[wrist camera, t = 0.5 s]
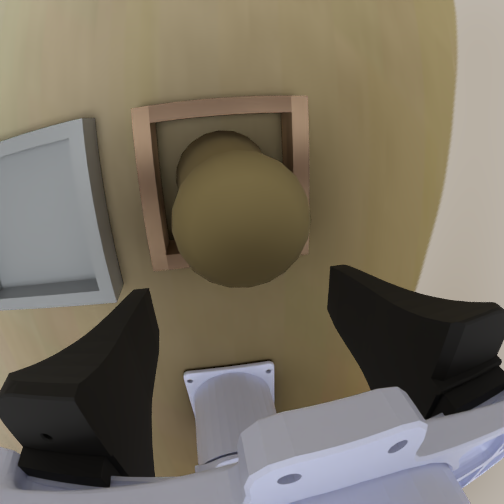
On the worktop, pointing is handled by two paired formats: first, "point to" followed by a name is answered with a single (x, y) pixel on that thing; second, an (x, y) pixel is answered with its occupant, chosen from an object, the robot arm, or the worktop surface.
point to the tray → (55, 221)
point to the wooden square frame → (146, 116)
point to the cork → (237, 211)
